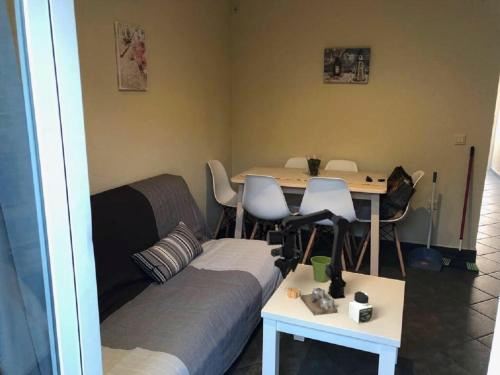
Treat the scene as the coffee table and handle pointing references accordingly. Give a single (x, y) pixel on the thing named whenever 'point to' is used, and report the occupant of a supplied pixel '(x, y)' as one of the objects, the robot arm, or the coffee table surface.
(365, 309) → the medicine bottle
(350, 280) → the coffee table surface
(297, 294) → the orange gear
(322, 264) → the plant pot
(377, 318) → the coffee table surface
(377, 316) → the coffee table surface
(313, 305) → the gear board
